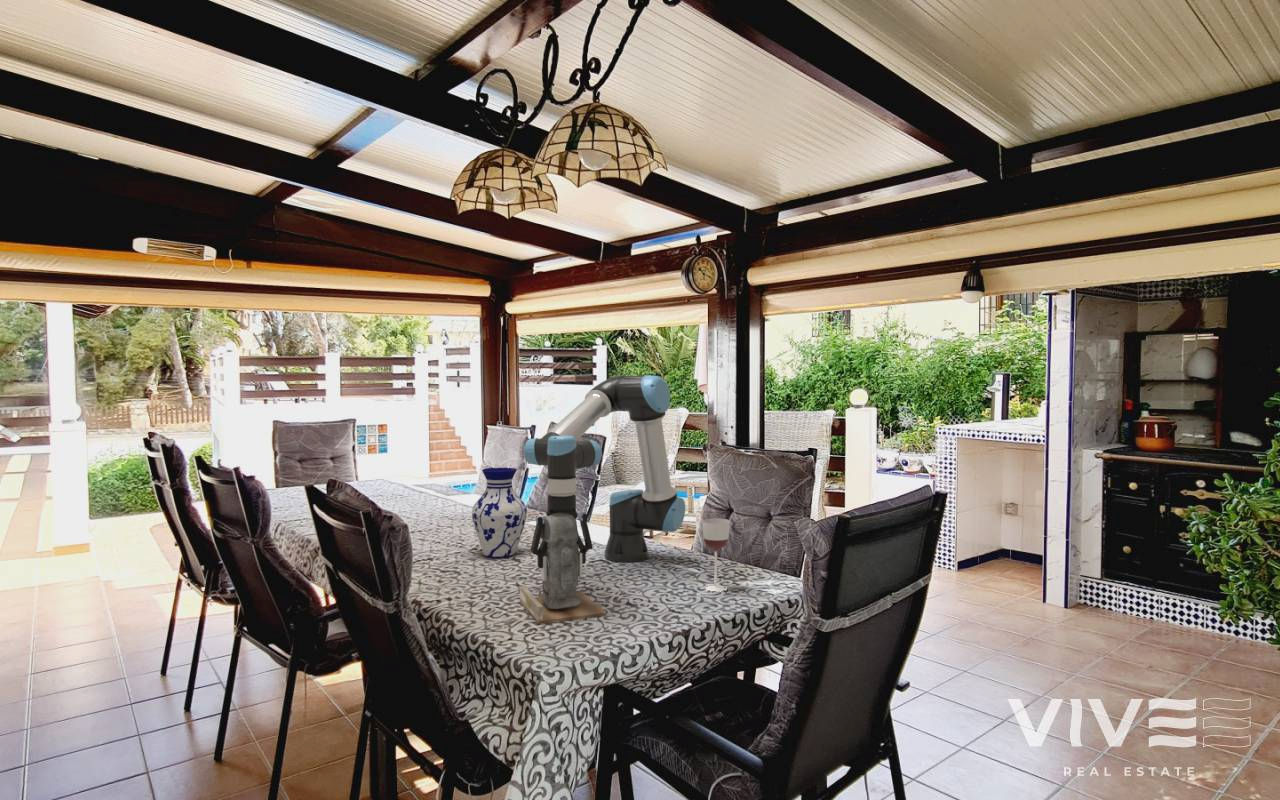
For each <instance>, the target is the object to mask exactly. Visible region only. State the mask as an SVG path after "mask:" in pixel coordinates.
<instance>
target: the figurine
mask: <svg viewBox="0 0 1280 800" xmlns="http://www.w3.org/2000/svg"><path fill="white" fill-rule="evenodd" d="M544 522H545V523H544V524H543V529H542V533H541V537H540V540H541V541H542V540H545V541H546V542H547V549H546V551H545V553H544V555H545V556H546V578H547V581H543V580H542V579H541V581H542V583H541V584H542V593H541V594H540V597H541V601H542V602H543V603H544V604H545V605H546V606H547V607H548V608H549V609H559V608H565V607H572V606H577V605H578V604H580V603H581V600H580V598H579V596H577V595H576V593H577V591H576V590H577V586H578V585H579V576H578V573H579V556H578V551H580V549H579V548H578V544H577V540H578V537H579V536H580V534H579V531H578V524H577V518H576V519H575V518H574V517H573V516H572V515H571V514H568V513H565V512H557V513H554V514H552V515H550V516H546V517H545V520H544Z"/></svg>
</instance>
